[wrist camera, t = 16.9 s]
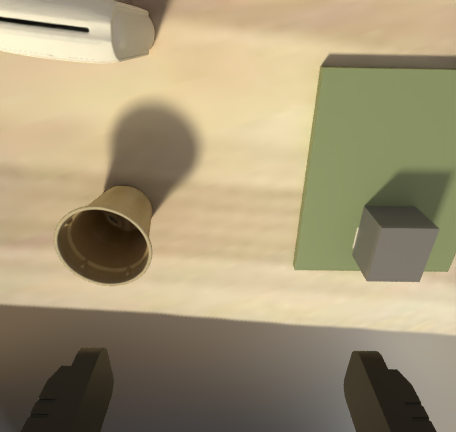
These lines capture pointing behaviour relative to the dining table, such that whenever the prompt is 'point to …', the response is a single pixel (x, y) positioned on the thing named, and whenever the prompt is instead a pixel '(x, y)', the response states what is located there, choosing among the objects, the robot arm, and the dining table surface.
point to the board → (378, 159)
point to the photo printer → (75, 30)
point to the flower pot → (107, 238)
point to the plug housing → (393, 243)
